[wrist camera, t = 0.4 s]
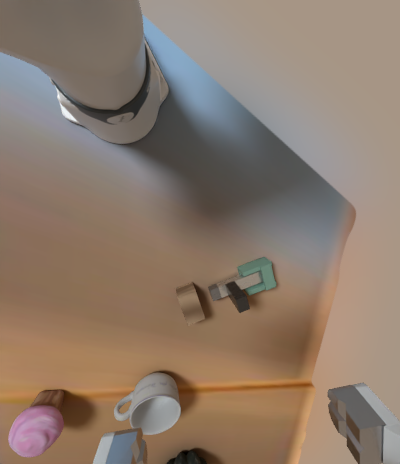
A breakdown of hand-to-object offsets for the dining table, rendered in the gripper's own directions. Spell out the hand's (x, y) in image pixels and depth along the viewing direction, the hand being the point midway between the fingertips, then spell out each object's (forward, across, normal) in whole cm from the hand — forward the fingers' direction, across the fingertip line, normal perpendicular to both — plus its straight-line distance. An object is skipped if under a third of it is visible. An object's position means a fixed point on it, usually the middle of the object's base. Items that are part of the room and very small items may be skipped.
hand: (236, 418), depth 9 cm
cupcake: (+35, +38, +31) cm, 60 cm away
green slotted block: (+41, -12, +13) cm, 44 cm away
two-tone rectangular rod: (+39, -8, +13) cm, 42 cm away
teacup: (+38, +18, +35) cm, 54 cm away
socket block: (+39, +4, +15) cm, 42 cm away
